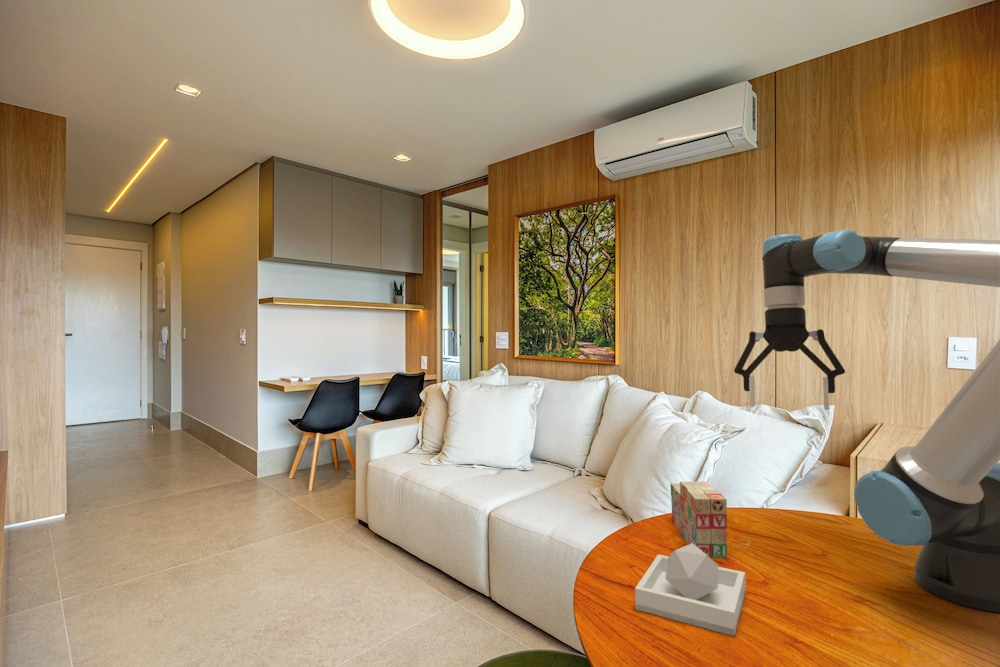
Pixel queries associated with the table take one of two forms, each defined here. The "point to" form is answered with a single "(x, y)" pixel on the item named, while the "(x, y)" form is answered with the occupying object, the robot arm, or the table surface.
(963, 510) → the robot arm
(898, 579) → the table surface
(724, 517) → the stack of blocks
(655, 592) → the tray
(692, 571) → the die
